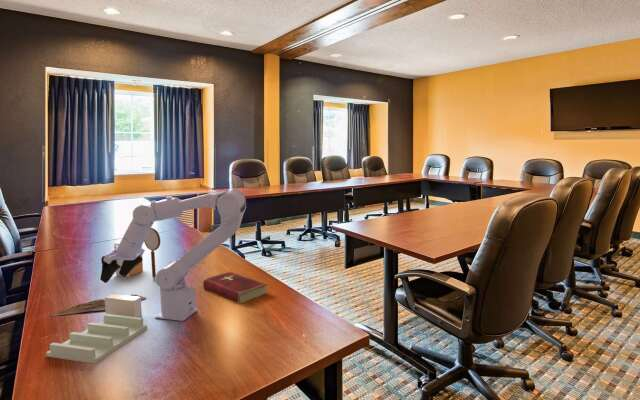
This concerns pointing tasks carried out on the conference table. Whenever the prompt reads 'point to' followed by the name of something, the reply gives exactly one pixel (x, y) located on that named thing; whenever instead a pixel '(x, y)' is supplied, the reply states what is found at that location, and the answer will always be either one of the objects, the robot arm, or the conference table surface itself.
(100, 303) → the wooden fragment
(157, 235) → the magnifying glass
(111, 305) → the beige rectangular block
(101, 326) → the rack
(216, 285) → the hardcover book
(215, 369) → the conference table surface
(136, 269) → the small box
